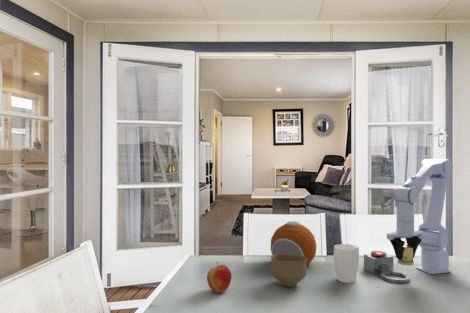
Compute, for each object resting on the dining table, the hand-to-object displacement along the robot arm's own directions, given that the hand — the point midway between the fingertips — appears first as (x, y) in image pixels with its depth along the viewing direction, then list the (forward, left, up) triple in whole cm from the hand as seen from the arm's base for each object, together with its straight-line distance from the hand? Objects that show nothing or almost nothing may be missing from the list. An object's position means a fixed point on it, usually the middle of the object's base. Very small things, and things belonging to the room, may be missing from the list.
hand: (405, 257), depth 128 cm
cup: (+19, -7, -9) cm, 23 cm away
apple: (+66, -10, -9) cm, 68 cm away
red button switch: (+2, -9, -8) cm, 12 cm away
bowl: (+41, -9, -9) cm, 43 cm away
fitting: (0, 0, -2) cm, 2 cm away
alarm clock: (+29, -30, -9) cm, 43 cm away
